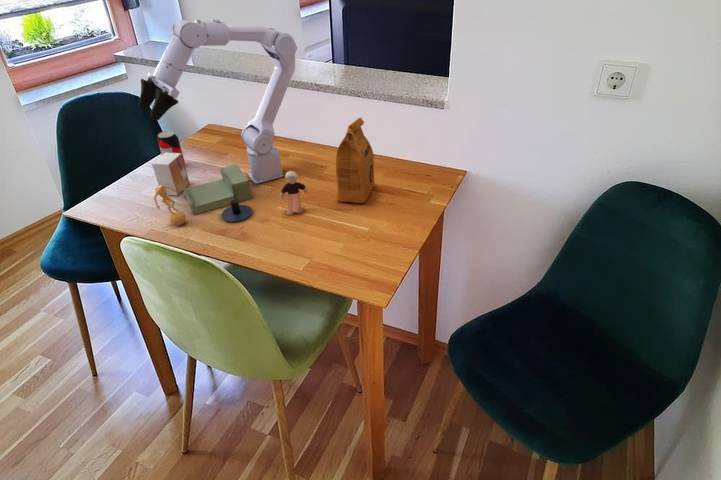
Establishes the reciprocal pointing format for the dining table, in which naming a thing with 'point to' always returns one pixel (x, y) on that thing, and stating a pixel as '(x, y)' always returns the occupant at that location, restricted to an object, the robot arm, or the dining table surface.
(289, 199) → the grandmother figurine
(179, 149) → the beverage can
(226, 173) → the green step block
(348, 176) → the coffee package
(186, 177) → the small box
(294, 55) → the robot arm
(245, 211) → the lid
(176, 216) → the figurine
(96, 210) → the dining table surface
